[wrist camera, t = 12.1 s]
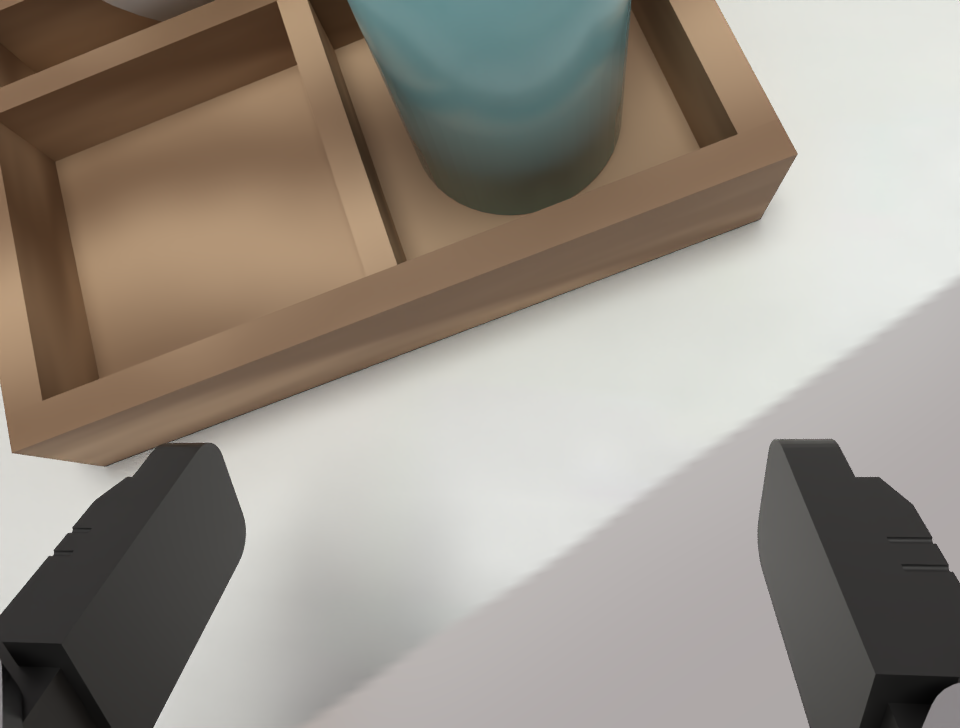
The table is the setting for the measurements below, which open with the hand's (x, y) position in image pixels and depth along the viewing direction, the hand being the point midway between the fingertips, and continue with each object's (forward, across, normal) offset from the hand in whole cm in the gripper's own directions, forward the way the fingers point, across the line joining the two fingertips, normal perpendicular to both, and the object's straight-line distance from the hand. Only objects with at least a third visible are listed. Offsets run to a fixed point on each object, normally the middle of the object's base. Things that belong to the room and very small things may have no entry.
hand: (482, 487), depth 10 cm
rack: (+14, +5, -2) cm, 15 cm away
